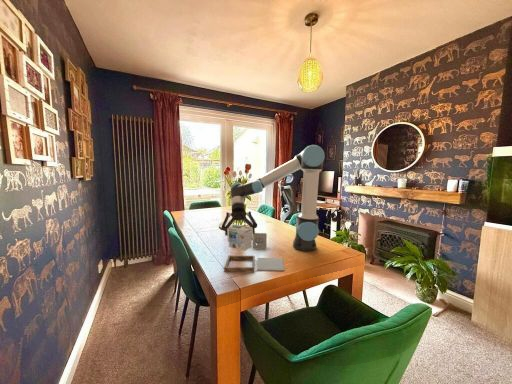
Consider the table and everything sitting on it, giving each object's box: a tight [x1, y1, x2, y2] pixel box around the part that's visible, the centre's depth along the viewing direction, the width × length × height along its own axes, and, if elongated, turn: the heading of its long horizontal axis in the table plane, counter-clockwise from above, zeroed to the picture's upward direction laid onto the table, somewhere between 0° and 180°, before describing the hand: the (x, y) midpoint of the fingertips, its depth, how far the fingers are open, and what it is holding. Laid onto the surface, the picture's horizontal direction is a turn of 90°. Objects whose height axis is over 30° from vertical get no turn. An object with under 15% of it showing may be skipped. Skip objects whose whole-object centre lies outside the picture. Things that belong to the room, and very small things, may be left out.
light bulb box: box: [228, 224, 253, 252], centre depth 112 cm, size 11×7×11 cm, turn 59°
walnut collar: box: [223, 254, 256, 273], centre depth 115 cm, size 15×15×2 cm
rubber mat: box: [256, 257, 285, 272], centre depth 116 cm, size 14×14×1 cm
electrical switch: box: [251, 232, 268, 249], centre depth 141 cm, size 9×5×9 cm, turn 86°
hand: (240, 240), depth 111 cm, fingers closed on light bulb box, 12 cm apart
